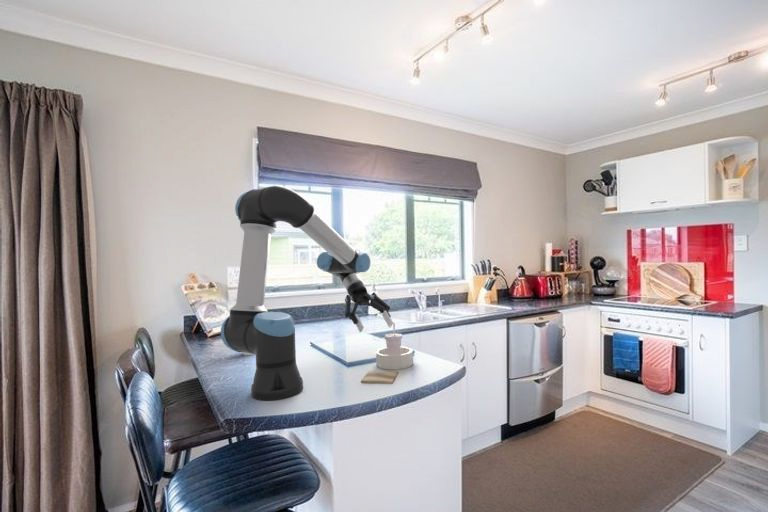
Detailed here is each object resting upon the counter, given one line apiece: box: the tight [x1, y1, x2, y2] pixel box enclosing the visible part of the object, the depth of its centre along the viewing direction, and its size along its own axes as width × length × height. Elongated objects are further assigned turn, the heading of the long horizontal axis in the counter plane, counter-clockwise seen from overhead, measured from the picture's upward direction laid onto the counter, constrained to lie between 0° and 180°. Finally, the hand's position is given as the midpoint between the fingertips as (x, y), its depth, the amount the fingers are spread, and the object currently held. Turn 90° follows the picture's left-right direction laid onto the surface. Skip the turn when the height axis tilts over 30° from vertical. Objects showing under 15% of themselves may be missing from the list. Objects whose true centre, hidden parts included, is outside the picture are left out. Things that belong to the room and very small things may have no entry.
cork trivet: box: [360, 370, 399, 385], centre depth 123 cm, size 10×10×1 cm
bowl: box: [375, 346, 414, 371], centre depth 137 cm, size 13×13×5 cm
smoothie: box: [384, 322, 403, 355], centre depth 137 cm, size 6×6×14 cm
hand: (376, 327), depth 146 cm, fingers open, 13 cm apart
